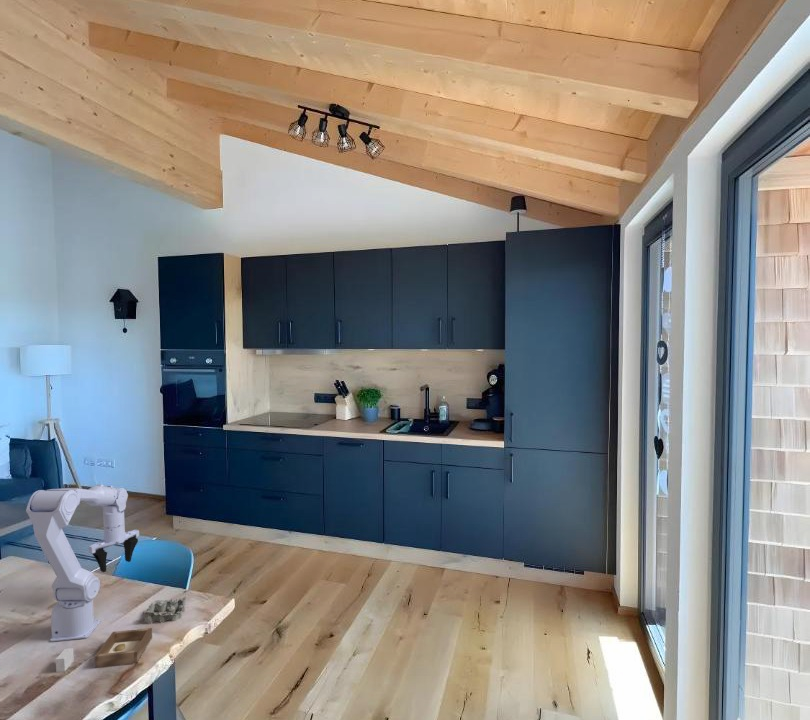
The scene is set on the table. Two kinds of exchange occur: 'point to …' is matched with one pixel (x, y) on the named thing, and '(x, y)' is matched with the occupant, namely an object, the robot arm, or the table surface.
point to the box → (123, 648)
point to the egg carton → (163, 606)
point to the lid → (64, 660)
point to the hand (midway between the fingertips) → (115, 566)
